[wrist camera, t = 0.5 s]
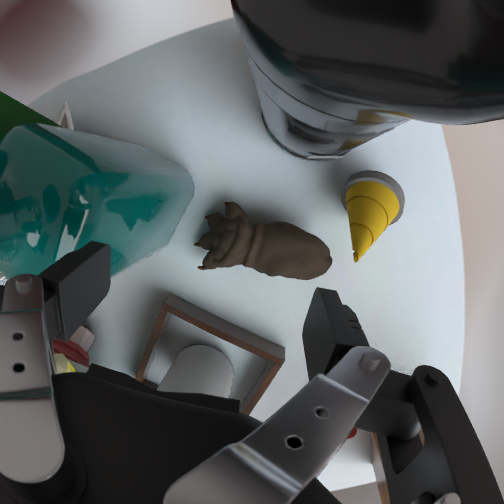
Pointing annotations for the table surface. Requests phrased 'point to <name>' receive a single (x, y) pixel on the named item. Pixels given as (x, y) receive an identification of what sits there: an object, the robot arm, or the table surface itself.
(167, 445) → the robot arm
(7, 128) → the pixelated creature
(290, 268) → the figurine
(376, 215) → the drill bit
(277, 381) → the table surface
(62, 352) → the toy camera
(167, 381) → the beverage can
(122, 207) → the pitcher
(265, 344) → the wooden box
